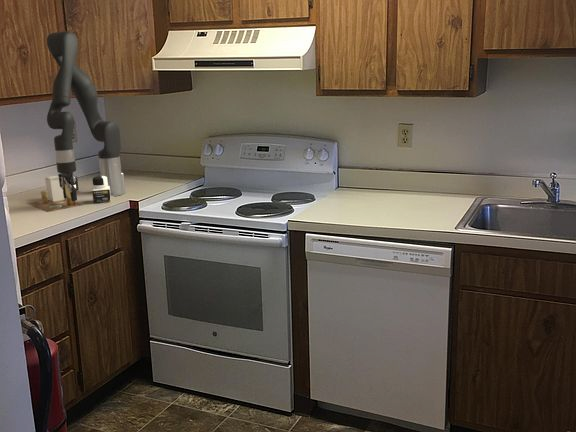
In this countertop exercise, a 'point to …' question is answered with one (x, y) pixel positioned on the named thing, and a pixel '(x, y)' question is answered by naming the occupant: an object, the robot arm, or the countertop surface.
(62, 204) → the board
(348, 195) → the countertop surface
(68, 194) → the brass pin
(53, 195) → the cover
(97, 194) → the medicine bottle
